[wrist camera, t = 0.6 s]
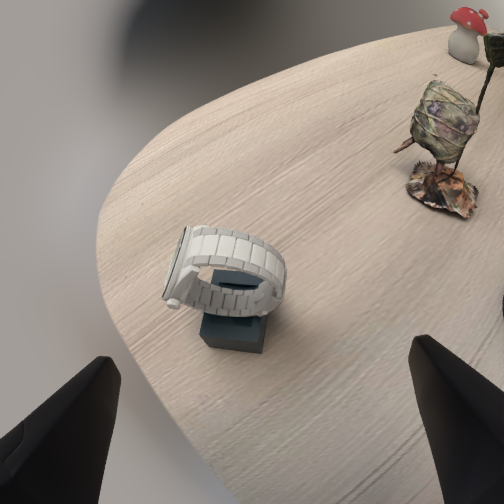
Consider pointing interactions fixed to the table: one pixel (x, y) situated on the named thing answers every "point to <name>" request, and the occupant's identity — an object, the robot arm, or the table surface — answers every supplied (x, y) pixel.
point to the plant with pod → (448, 138)
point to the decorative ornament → (467, 34)
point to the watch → (227, 285)
